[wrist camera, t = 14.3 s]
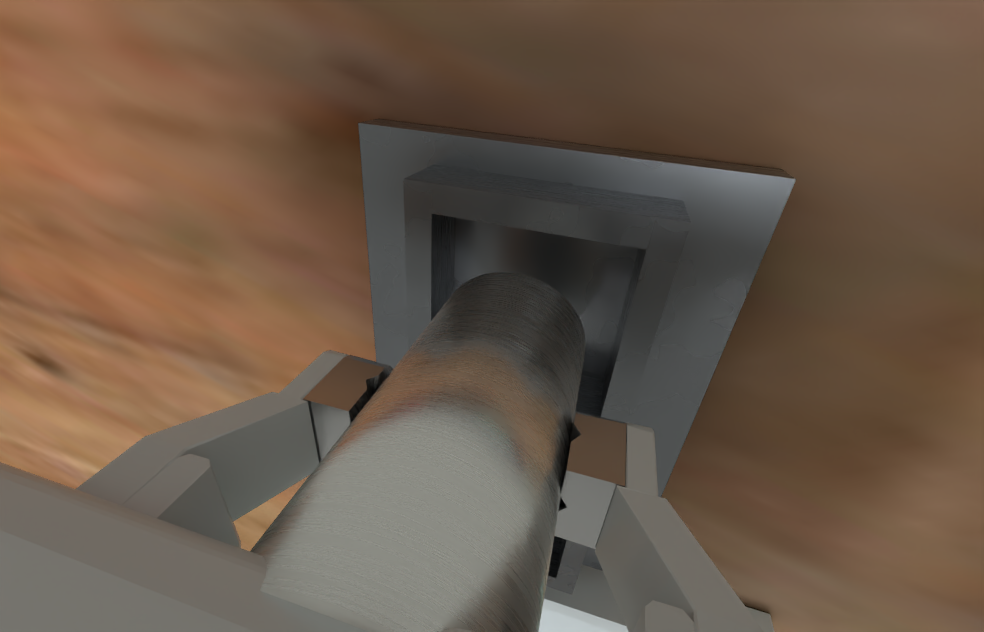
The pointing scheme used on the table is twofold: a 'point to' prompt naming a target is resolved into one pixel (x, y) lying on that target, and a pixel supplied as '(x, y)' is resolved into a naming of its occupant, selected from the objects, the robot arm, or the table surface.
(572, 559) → the dark gray divided tray
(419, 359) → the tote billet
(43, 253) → the table surface
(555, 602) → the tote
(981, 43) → the table surface
